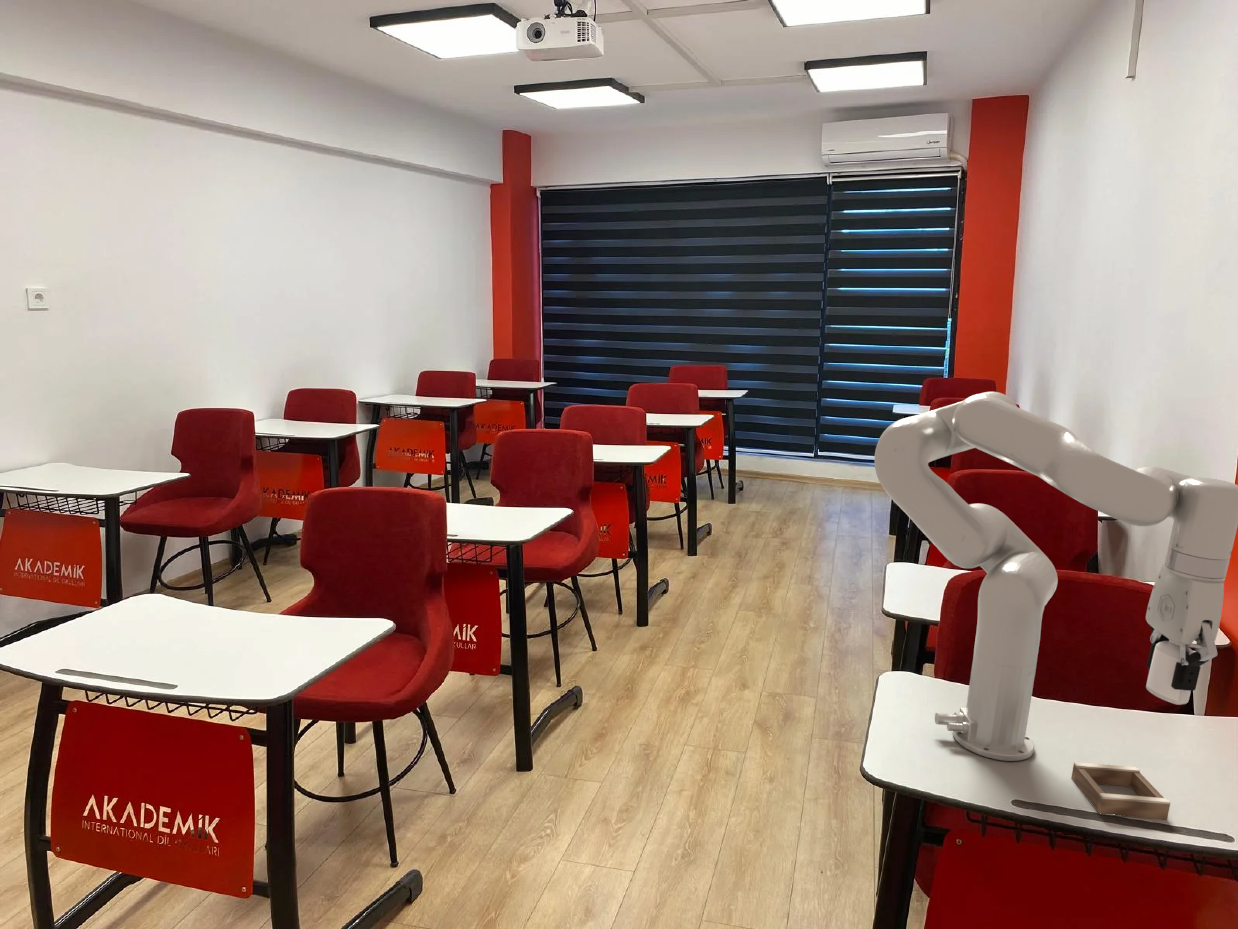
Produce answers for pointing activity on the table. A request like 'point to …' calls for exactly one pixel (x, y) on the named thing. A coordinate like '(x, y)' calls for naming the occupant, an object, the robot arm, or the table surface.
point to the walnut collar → (1124, 805)
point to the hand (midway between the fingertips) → (1170, 678)
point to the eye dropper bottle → (1166, 673)
